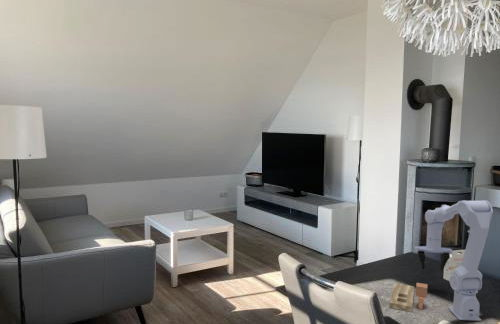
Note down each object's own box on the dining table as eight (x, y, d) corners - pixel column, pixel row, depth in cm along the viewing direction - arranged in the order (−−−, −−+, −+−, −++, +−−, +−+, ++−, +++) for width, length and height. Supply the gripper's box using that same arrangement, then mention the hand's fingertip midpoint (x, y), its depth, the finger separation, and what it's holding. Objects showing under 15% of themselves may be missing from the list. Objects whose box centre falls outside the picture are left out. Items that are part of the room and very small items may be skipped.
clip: (426, 303, 163) (427, 283, 162) (426, 310, 157) (427, 289, 156) (415, 301, 165) (416, 281, 164) (414, 308, 159) (416, 287, 158)
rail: (414, 290, 176) (414, 286, 176) (411, 311, 156) (411, 306, 156) (394, 287, 179) (394, 283, 179) (389, 307, 159) (389, 302, 159)
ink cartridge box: (457, 276, 194) (459, 246, 192) (465, 280, 189) (467, 249, 187) (442, 278, 191) (444, 247, 190) (450, 282, 186) (452, 250, 185)
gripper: (449, 236, 177) (447, 267, 178) (414, 234, 179) (412, 264, 180) (454, 241, 170) (452, 272, 171) (417, 238, 172) (415, 270, 173)
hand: (432, 269), depth 175 cm, fingers open, 7 cm apart
